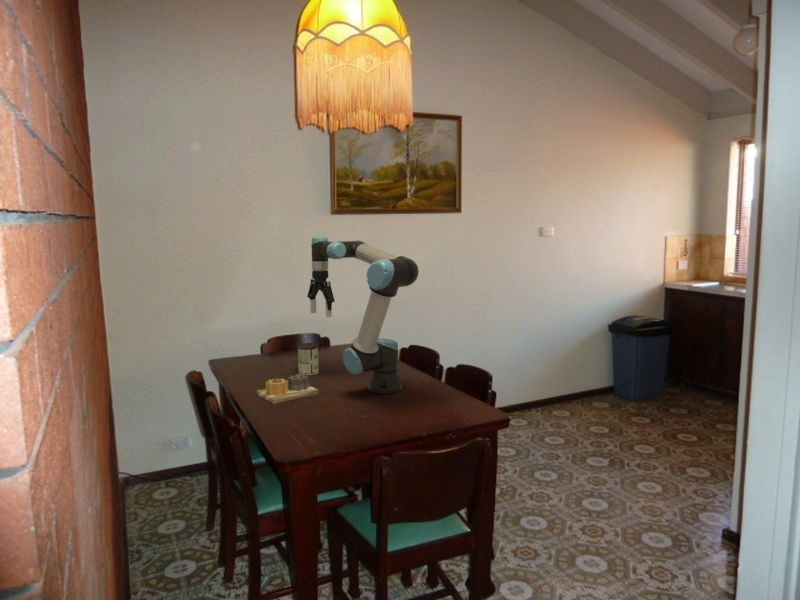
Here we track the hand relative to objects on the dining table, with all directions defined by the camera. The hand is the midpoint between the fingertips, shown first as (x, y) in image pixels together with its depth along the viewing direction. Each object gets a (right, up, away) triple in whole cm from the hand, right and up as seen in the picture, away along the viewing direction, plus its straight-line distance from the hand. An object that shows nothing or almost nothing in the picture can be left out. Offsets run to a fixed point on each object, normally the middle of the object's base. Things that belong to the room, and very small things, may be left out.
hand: (320, 315), depth 272 cm
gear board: (-12, -34, -17) cm, 40 cm away
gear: (-16, -33, -20) cm, 42 cm away
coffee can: (-9, -30, +18) cm, 36 cm away
